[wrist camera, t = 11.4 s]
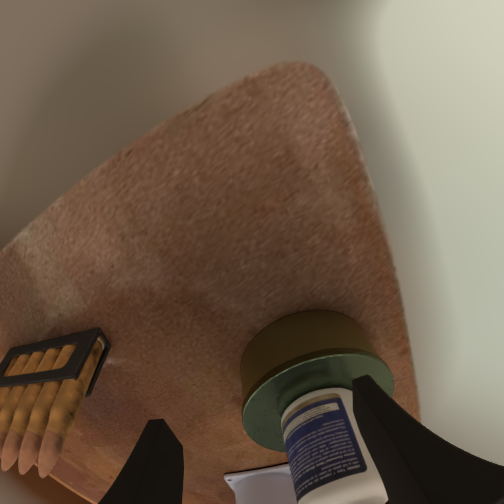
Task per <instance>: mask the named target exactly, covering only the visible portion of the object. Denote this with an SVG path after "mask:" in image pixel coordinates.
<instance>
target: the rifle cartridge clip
mask: <svg viewBox="0 0 504 504" xmlns="http://www.w3.org/2000/svg"><path fill="white" fill-rule="evenodd" d="M110 348H111V347H110V345H109V343H108V342H107V340H106V339H105V337H104V335H103V334H102V332H101V330H100V329H99V328H96V329H92V330H88V331H84V332H80V333H75V334H71V335H67V336H63V337H59V338H55V339H51V340H46V341H42V342H38V343H34V344H29V345H25V346H21V347H16V348H12V349H10V350H9V351H8V353H7V354H6V356H5V357H4V359H3V360H2V362H1V363H0V458H1V467H2V471H7V470H8V469H9V468H10V467H11V466H12V465H13V464H14V462H15V461H16V459H17V458H18V456H19V463H18V465H19V473H20V474H21V475H23V474H25V473H26V472H27V471H28V470H29V469H30V467H31V466H32V465H33V463H34V462H35V460H36V458H37V456H38V455H39V463H38V469H39V475H40V477H42V478H44V477H45V476H47V475H48V474H49V473H50V471H51V470H52V468H53V467H54V465H55V464H56V462H57V460H58V458H59V455H60V453H61V451H62V448H63V445H64V443H65V441H66V438H67V436H68V434H69V432H70V430H71V429H72V427H73V426H74V424H75V421H76V419H77V416H78V413H79V410H80V408H81V405H82V402H83V400H84V397H90V395H91V392H92V390H93V388H94V385H95V383H96V380H97V378H98V375H99V373H100V371H101V368H102V366H103V364H104V361H105V359H106V357H107V354H108V352H109V350H110ZM1 456H2V457H1Z"/></svg>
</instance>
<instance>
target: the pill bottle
mask: <svg viewBox="0 0 504 504" xmlns="http://www.w3.org/2000/svg"><path fill="white" fill-rule="evenodd" d="M281 426H282V433H283V437H284V442H285V447H286V451H287V457H288V461H289V466H290V471H291V476H292V481H293V486H294V491H295V496H296V500H297V504H385V503H386V502H387V501H388V497H387V494H386V490H385V487H384V484H383V482H382V479H381V477H380V475H379V473H378V470H377V468H376V466H375V464H374V462H373V460H372V458H371V456H370V453H369V451H368V449H367V447H366V445H365V443H364V441H363V438H362V436H361V434H360V431H359V429H358V426H357V423H356V420H355V416H354V413H353V396H352V391H350V390H348V389H344V388H326V389H320V390H316V391H313V392H310V393H308V394H306V395H303V396H301V397H300V398H298V399H297V400H295V401H294V402H293V403H292V404H291V405H290V406H289V407H288V408H287V409H286V410H285V412H284V414H283V416H282V420H281Z"/></svg>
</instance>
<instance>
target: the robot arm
mask: <svg viewBox="0 0 504 504" xmlns="http://www.w3.org/2000/svg"><path fill="white" fill-rule="evenodd" d="M352 396H353V413H354V416H355V420H356V423H357V426H358V429H359V431H360V434H361V436H362V438H363V441H364V443H365V445H366V447H367V449H368V451H369V453H370V456H371V458H372V460H373V462H374V464H375V466H376V468H377V470H378V473H379V475H380V477H381V479H382V482H383V484H384V487H385V490H386V494H387V497H388V500H389V503H390V504H504V466H501V465H498V464H495V463H492V462H489V461H486V460H484V459H481V458H479V457H476V456H474V455H472V454H470V453H468V452H466V451H464V450H462V449H460V448H458V447H456V446H454V445H452V444H451V443H449V442H447V441H445V440H444V439H442V438H441V437H439V436H438V435H436V434H434V433H433V432H432V431H430V430H429V429H427V428H426V427H425V426H423V425H422V424H421V423H419V422H418V421H417V420H416V419H414V418H413V417H412V416H411V415H409V414H408V413H407V412H406V411H405V410H404V409H403V408H402V407H400V406H399V405H398V404H397V403H396V402H395V401H394V400H393V399H392V398H391V397H390V396H389V395H388V394H387V393H386V392H385V391H384V390H383V389H382V388H381V387H380V386H379V385H378V384H377V383H376V382H375V381H374V379H373V378H372V377H371V376H370V375H368V374H367V375H364V376H361V377H358V378H355V379H352ZM183 477H184V458H183V446H182V444H181V443H180V442H179V440H178V439H177V438H176V436H175V435H174V433H173V432H172V431H171V429H170V428H169V426H168V425H167V424H166V422H165V421H164V419H155V420H149V421H148V422H147V424H146V426H145V428H144V430H143V432H142V434H141V436H140V438H139V440H138V442H137V443H136V445H135V447H134V449H133V451H132V453H131V455H130V456H129V458H128V460H127V462H126V463H125V465H124V467H123V469H122V470H121V472H120V473H119V475H118V477H117V478H116V480H115V481H114V483H113V484H112V486H111V487H110V489H109V490H108V491H107V493H106V494H105V495H104V497H103V498H102V499H101V501H100V502H99V503H98V504H182V493H183ZM224 479H225V481H226V482H227V483H228V485H229V486H230V487H231V489H232V490H233V491H234V492H235V499H236V504H297V500H296V496H295V491H294V486H293V481H292V476H291V471H290V466H289V464H284V465H280V466H275V467H269V468H264V469H258V470H252V471H246V472H239V473H232V474H226V475H224Z"/></svg>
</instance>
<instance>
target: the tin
mask: <svg viewBox="0 0 504 504" xmlns="http://www.w3.org/2000/svg"><path fill="white" fill-rule="evenodd" d="M240 369H241V381H242V392H243V405H242V411H241V413H242V424H243V427H244V430H245V431H246V433H247V435H248V436H249V437H250V438H251V439H252V440H253V441H254V442H256V443H257V444H259V445H261V446H263V447H265V448H268V449H271V450H275V451H279V452H287V451H286V447H285V442H284V437H283V433H282V426H281V420H282V416H283V414H284V412H285V410H286V409H287V408H288V407H289V406H290V405H291V404H292V403H293V402H294V401H295V400H297V399H298V398H300V397H301V396H303V395H306V394H308V393H310V392H313V391H316V390H320V389H326V388H344V389H348V390H350V391H352V379H355V378H358V377H361V376H364V375H367V374H368V375H370V376H371V377H372V378H373V379H374V381H375V382H376V383H377V384H378V385H379V386H380V387H381V388H382V389H383V390H384V391H385V392H386V393H387V394H388V395H389V396H390V397H391V398H392V396H393V392H394V379H393V375H392V373H391V371H390V369H389V367H388V366H387V364H386V363H385V362H384V361H383V360H382V359H381V358H380V357H379V356H378V355H377V353H376V351H375V350H374V348H373V346H372V345H371V343H370V341H369V339H368V338H367V336H366V334H365V333H364V331H363V330H362V328H361V327H360V326H359V324H357V323H356V322H355V321H354V320H352V319H351V318H349V317H347V316H345V315H343V314H340V313H337V312H333V311H325V310H314V311H305V312H300V313H296V314H293V315H289V316H287V317H284V318H282V319H280V320H278V321H276V322H274V323H272V324H270V325H269V326H267V327H266V328H265V329H263V330H262V331H261V332H260V333H259V334H257V335H256V336H255V338H254V339H253V340H252V341H251V342H250V344H249V345H248V347H247V348H246V350H245V352H244V354H243V357H242V360H241V367H240Z"/></svg>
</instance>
